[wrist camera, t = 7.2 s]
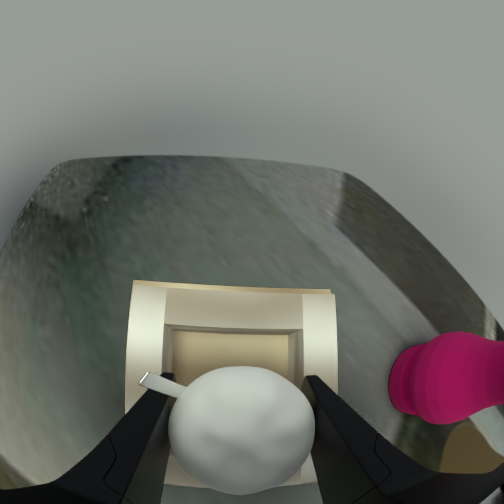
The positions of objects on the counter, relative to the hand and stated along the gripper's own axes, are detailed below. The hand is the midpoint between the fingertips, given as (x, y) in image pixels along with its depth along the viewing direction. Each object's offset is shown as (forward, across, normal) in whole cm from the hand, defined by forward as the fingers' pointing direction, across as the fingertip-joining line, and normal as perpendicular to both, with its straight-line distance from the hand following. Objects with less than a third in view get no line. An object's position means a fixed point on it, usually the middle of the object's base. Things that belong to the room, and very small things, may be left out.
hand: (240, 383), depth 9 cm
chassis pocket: (+6, 0, +8) cm, 10 cm away
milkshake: (+4, 0, +6) cm, 7 cm away
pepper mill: (+6, -16, +8) cm, 19 cm away
